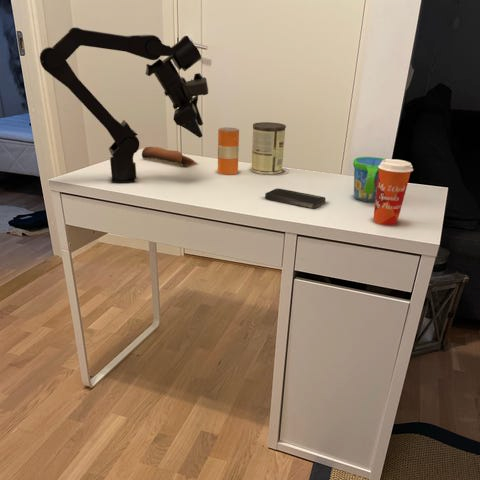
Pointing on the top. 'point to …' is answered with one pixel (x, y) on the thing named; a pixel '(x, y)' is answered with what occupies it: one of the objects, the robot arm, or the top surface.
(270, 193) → the phone
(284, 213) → the top surface
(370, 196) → the snack cup
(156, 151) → the brown elongated rounded bar
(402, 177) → the paper cup
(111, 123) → the robot arm
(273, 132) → the coffee can
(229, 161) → the juice can
